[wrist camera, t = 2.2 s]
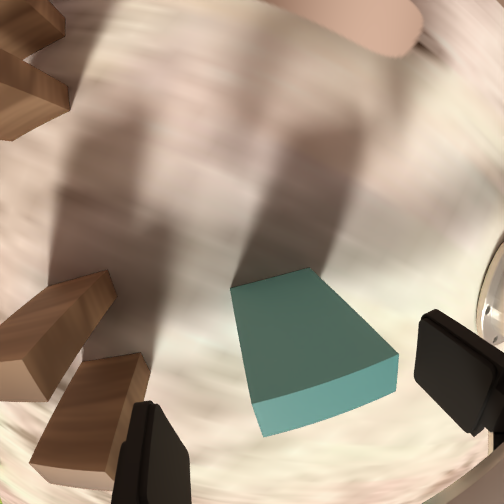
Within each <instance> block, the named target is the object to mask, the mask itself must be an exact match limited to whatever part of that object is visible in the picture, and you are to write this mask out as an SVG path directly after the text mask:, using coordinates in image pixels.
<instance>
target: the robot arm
mask: <svg viewBox="0 0 504 504" xmlns="http://www.w3.org/2000/svg"><path fill="white" fill-rule="evenodd" d="M476 324H477V331H478V335H479V336H478V335H476V334H475V333H473V332H472V331H470V330H469V329H467V328H466V327H464V326H463V325H461V324H460V323H458V322H457V321H455V320H453V319H452V318H450V317H449V316H447V315H446V314H444V313H442V312H441V311H439V310H437V309H434V310H432V311H430V312H428V313H426V314H424V315H423V316H422V317H421V320H420V322H419V328H418V341H417V351H416V360H415V369H414V378H415V381H416V382H417V383H418V384H419V385H420V386H421V387H422V388H423V389H424V390H425V391H426V392H427V393H428V394H429V396H430V397H431V398H432V399H433V400H434V401H435V402H436V403H437V404H438V405H439V406H440V407H441V408H442V409H443V410H444V411H445V412H446V413H447V414H448V415H449V416H450V417H451V418H452V419H453V420H454V421H455V422H456V423H457V424H458V425H459V426H460V427H461V428H462V429H463V430H464V431H465V432H466V433H471V435H472V436H473V437H475V436H476V435H477V434H478V433H480V432H481V431H482V430H483V429H484V427H485V428H486V429H488V456H487V457H486V458H485V459H484V460H483V461H481V462H480V463H479V464H478V465H477V466H475V467H474V468H473V469H472V470H470V471H469V472H468V473H466V474H465V475H464V476H462V477H461V478H460V479H458V480H457V481H456V482H454V483H453V484H451V485H450V486H448V487H447V488H445V489H444V490H443V491H441V492H440V493H438V494H436V495H435V496H433V497H432V498H430V499H429V500H427V501H425V502H424V503H422V504H504V353H503V352H502V351H500V350H499V349H497V348H496V347H494V345H498V344H500V343H502V342H504V242H503V243H502V244H501V246H500V247H499V249H498V251H497V252H496V254H495V256H494V258H493V260H492V262H491V264H490V266H489V269H488V271H487V274H486V276H485V279H484V282H483V286H482V289H481V293H480V297H479V301H478V307H477V318H476ZM111 504H192V502H191V484H190V461H189V454H188V451H187V449H186V448H185V446H184V445H183V443H182V442H181V440H180V439H179V437H178V435H177V434H176V432H175V431H174V429H173V427H172V426H171V424H170V423H169V421H168V419H167V418H166V416H165V414H164V413H163V411H162V409H161V407H160V406H159V405H158V404H154V403H153V402H152V401H143V402H136V403H134V405H133V408H132V413H131V418H130V423H129V428H128V433H127V438H126V441H124V442H123V443H122V444H121V447H120V452H119V457H118V463H117V469H116V474H115V481H114V487H113V493H112V500H111Z"/></svg>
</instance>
